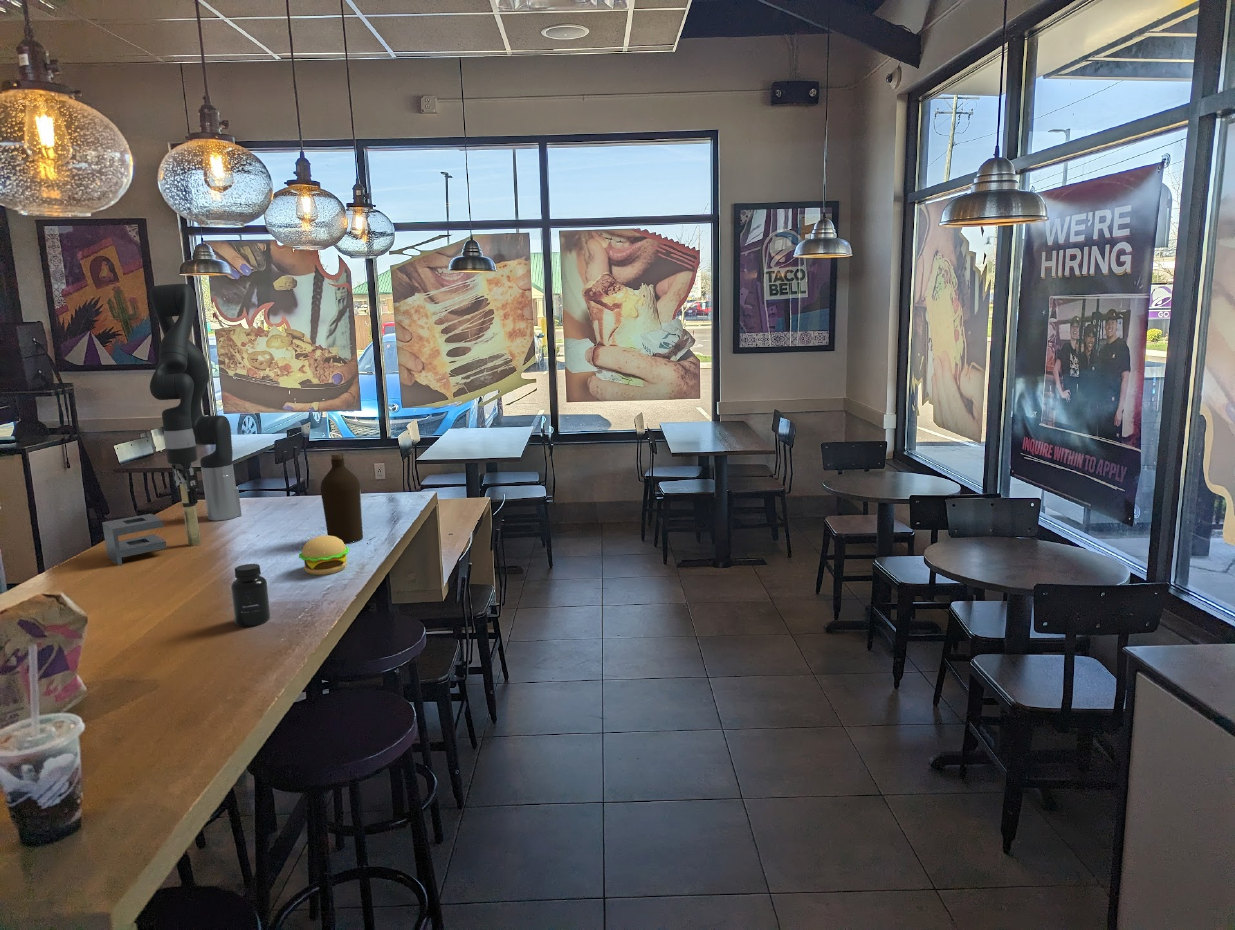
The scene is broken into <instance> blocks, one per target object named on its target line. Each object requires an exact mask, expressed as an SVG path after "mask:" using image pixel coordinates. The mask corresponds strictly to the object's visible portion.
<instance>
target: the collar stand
mask: <svg viewBox="0 0 1235 930" xmlns="http://www.w3.org/2000/svg"><path fill="white" fill-rule="evenodd" d="M101 524H102V531H103V536H104V541H105V549H106V554H107V558H108V559H109V558H110V559H111V561H112V562H113V561H114V562H115V563H116V564H115V563H114V562H113V563H114V564H115V565H116V566H118V565H119V566H122V565H123V560H122V558H126V557H130V556H136V555H141V554H145V553H149V552H155V551H158V550H159V551H161V550H165V549H167V548H168V547H167V541H166V540H165V539H163V538H162V537H160V536H158V535H157V534H155V533H153V534H146V535H142V536H138V537H137V536H136V537H132V538H128V539H127V538H126V539H122V540H119V536H123V535H129V534H135V533H139V532H143V531H149V530H155V529H160V528H164V527H165V526H164V521H163V519H162V518H160V517H159V516H156V515H154V514H153V513H148V514H141V515H136V516H130V517H124V518H119V519H113V520H108V521H102V522H101ZM110 559H109V560H110Z"/></svg>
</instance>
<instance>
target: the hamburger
mask: <svg viewBox="0 0 1235 930" xmlns="http://www.w3.org/2000/svg"><path fill="white" fill-rule="evenodd" d="M349 551H350V548H349V547H348V545H347V546H346V544H344V542H343V541H342V540H341V539H339V538H337V537H335V536H329V535H328V534H327V535H326V534H325V535H318V536H316V537H314V538H311V539H309V540H308V541H306V543H305V544H304V545H303V547H302V549H301V552H299V554H298V558H299V559H301V560H302V561H304V567H303V568H304V571H305V572H306V573H307V574H308V575H311V576H326V575H331V574H336V573H339V572H341V571H343V570H345V568H346V566H347V563H348V562H347V559H348V556H347V554H349Z"/></svg>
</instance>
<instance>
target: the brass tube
mask: <svg viewBox="0 0 1235 930" xmlns="http://www.w3.org/2000/svg"><path fill="white" fill-rule="evenodd" d="M191 485H193V484H191ZM180 490H181V497H182V500H181V503H182V509H183V511H182V512H183V517H184V523H185V530H186V531H185V532H186V537H187V538H186V539H187V545H189V546H188V547H195V546H194V545H196V546H199V544H200V545H201V544H202V542H201V541H202V540H201V535H200V529H199V521H198V513H197V506H196V504H189V502H188V495H187V490H186V487H185V485H183V484H182V483H180Z"/></svg>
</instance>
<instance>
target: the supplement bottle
mask: <svg viewBox="0 0 1235 930" xmlns="http://www.w3.org/2000/svg"><path fill="white" fill-rule="evenodd" d="M261 574H262V573H261V565H259V564H257V563H245V564H242V565H238V566H236V567H235V568H234V577H235V578H236V579H234V581H232V583H231V586H230V587H231V588H230V589H231V597H232V605H233V606H232V608H233V613H234V622H235V624H236V625H237V626H239V627H249V628H250V627H256V626H259V625H262V624H265V623H267V622H268V621H269V620H270V618H271V610H270V601H269V592H268V583H267V579H265V577H263V576H261Z"/></svg>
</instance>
